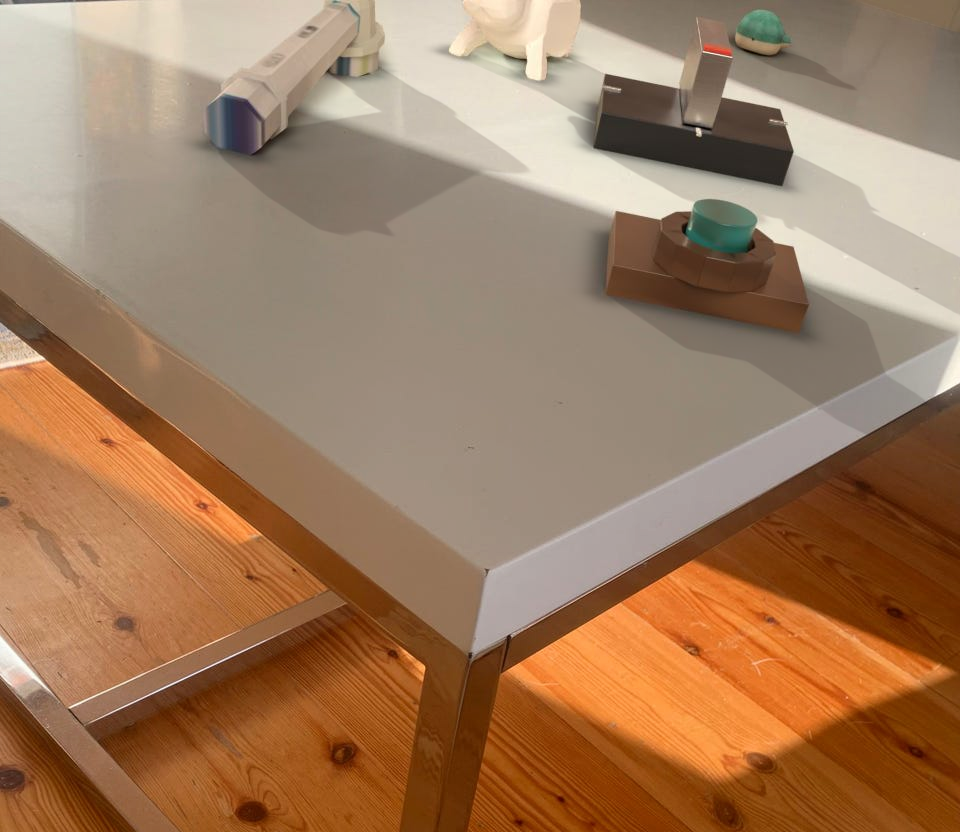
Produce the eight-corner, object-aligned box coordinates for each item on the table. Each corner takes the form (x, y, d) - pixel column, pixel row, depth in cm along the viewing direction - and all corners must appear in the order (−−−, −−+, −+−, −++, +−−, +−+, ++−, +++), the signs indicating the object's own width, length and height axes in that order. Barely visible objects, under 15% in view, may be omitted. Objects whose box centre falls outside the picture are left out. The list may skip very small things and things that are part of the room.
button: (745, 235, 64) (755, 206, 63) (750, 261, 61) (760, 231, 60) (683, 223, 64) (692, 193, 63) (685, 248, 61) (694, 217, 60)
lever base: (766, 134, 92) (778, 95, 90) (783, 197, 81) (798, 154, 79) (596, 100, 92) (605, 60, 90) (590, 158, 81) (600, 114, 79)
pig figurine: (483, 75, 102) (418, 37, 89) (513, -23, 100) (450, -78, 86) (568, 102, 100) (514, 67, 86) (600, 2, 98) (551, -50, 84)
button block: (782, 279, 69) (803, 218, 67) (797, 345, 62) (822, 279, 60) (607, 244, 69) (622, 181, 67) (603, 306, 62) (620, 238, 60)
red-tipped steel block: (678, 84, 88) (697, 13, 85) (706, 89, 88) (725, 19, 85) (682, 123, 81) (703, 46, 77) (712, 129, 81) (734, 53, 77)
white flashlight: (190, 84, 68) (331, -47, 85) (196, 185, 72) (329, 42, 90) (272, 104, 67) (397, -31, 84) (273, 205, 72) (391, 57, 89)
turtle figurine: (720, 45, 113) (732, 5, 111) (745, 35, 118) (756, -4, 116) (774, 62, 111) (787, 22, 109) (797, 51, 116) (809, 12, 114)
